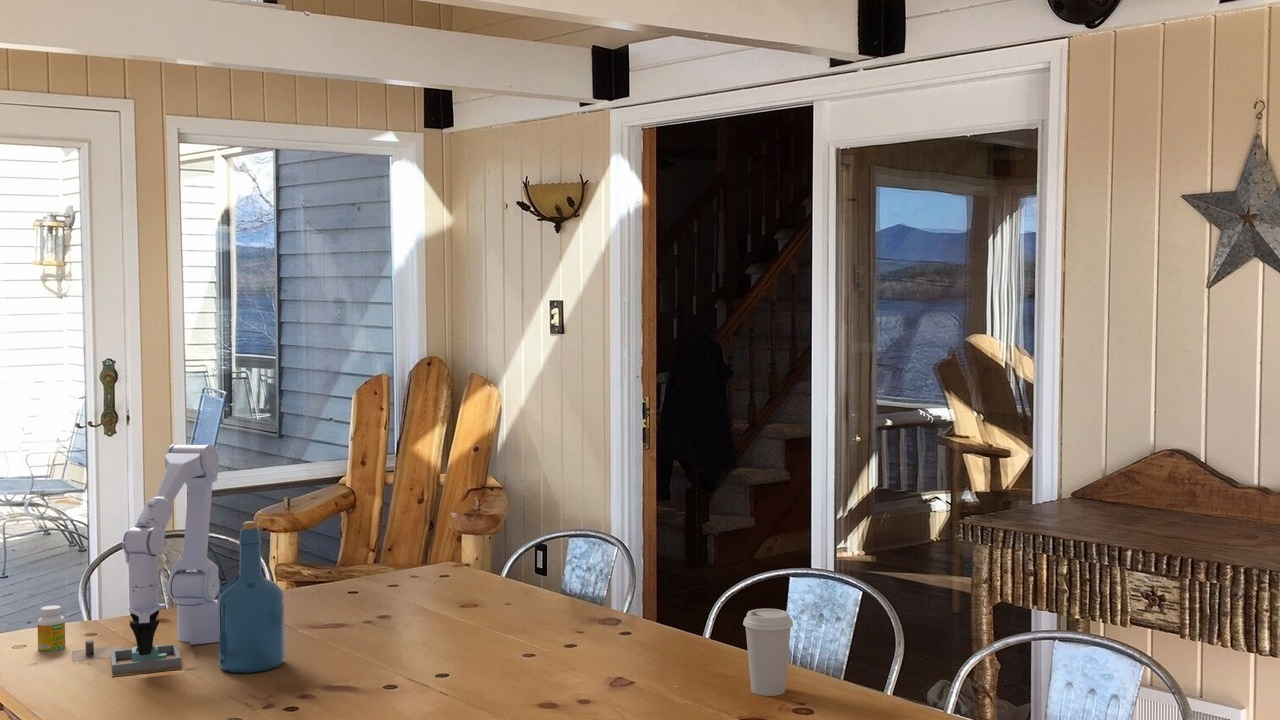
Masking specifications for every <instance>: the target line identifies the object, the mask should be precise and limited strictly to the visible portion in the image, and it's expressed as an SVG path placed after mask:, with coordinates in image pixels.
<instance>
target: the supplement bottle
mask: <svg viewBox="0 0 1280 720" xmlns="http://www.w3.org/2000/svg"><path fill="white" fill-rule="evenodd" d="M61 614H62V606H60V605H47V606H46V605H45V606H42V607H40V616H41V617H39V618H38V620H37V624H36V625H37V651H38V652H45V653H47V652H55V651H60V650H64V649H65V648H66V619H65V616H63V615H61Z"/></svg>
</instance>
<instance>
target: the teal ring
mask: <svg viewBox="0 0 1280 720" xmlns="http://www.w3.org/2000/svg"><path fill="white" fill-rule="evenodd" d="M158 646H159V645H158V644H154V645H152V650H151V654H150V655H140V654H139V651H138V647H137V646H134V647H133V646H132V647H131V649H132V658H131V662H138V661H147V660H156V659H165V658H167V654H166V653H163V654H158Z"/></svg>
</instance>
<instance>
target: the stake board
mask: <svg viewBox="0 0 1280 720" xmlns="http://www.w3.org/2000/svg"><path fill="white" fill-rule="evenodd" d="M94 642H95V641H94V640H93V639H90V640H88V639H87V640H86V641H85V642H84V644H85V645H84V647H85V649H79V650H77V649H76V650H71V662H72V663H73V662H79V661H80V662H81V661H89V660H99V659H107V658H110V659H111V651H115V650H124V649H123V645H117V646H107V647H105V646H104V647H97V648H95V646H94V645H95V643H94Z"/></svg>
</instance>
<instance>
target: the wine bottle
mask: <svg viewBox="0 0 1280 720" xmlns="http://www.w3.org/2000/svg"><path fill="white" fill-rule="evenodd" d="M257 524H258V523H257V521H254V520H253V521H252V520H250V521H245V522H243V523H242V528H241V529H240V530H239V531H240V533H239V540H238V541H239V543H238V545H239V574H238V575H236V576H234V577H233V578H232V579H230V580H228V582H226V583H225V584H223V585H222V586H221V587H219V591H218V594H217V595H218V597H217V600H218V642H217V645H218V646H217V648H218V649H217V650H218V663H219V666H220V667H221V670H222V671H226V672H231V673H233V674H234V673H236V674H253V673H261V672H265V671H268V670H272V669H275V668H277V667H279V666H281V665H282V664H284V661H285V659H286V642H285V641H286V639H285V638H286V637H285V636H286V632H285V629H286V628H285V626H286V625H285V623H286V622H285V594H284V593H283V590H282V588H281V587H280V586H279V585H278V584H277V583H276V582H275V581H273V580H271V579H268V578H265V577H264V576H263V573H262V557H261V555H262V554H261V544H262V540H261V539H262V538H261V534H260V533H261V532H260V528H259V527H258V525H257Z"/></svg>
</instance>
